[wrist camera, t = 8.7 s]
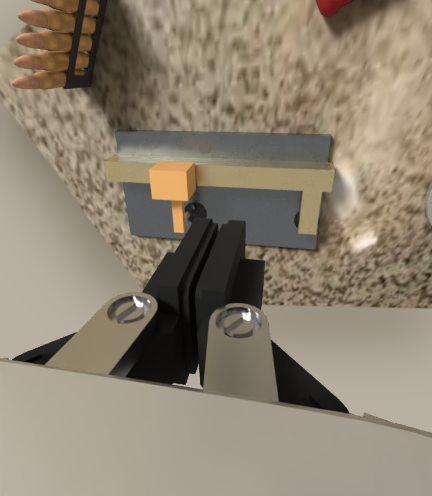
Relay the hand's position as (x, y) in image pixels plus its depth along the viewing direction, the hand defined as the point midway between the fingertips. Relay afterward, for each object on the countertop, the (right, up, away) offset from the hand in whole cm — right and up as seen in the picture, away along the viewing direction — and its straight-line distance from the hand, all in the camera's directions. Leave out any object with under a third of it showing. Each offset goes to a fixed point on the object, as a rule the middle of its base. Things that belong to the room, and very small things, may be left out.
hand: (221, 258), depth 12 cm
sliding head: (-4, +8, +31) cm, 32 cm away
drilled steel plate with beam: (0, +8, +32) cm, 33 cm away
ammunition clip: (-14, +24, +26) cm, 38 cm away
